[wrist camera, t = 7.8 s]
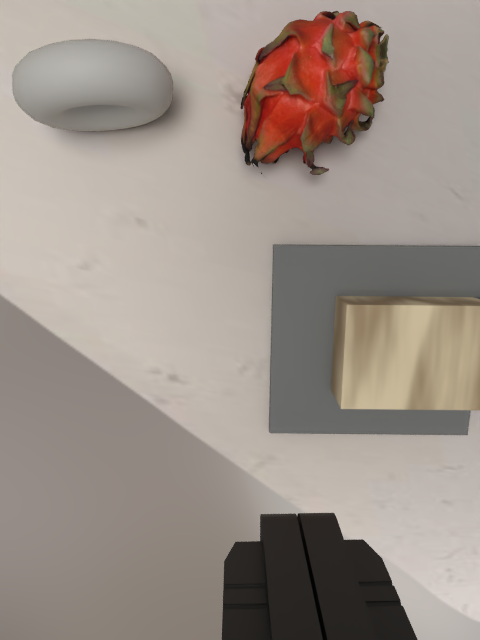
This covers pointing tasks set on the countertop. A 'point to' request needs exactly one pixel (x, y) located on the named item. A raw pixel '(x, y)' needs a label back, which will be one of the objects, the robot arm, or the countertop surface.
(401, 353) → the maple block
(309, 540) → the robot arm
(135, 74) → the donut
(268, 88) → the dragon fruit
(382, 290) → the rubber mat
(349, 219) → the countertop surface
